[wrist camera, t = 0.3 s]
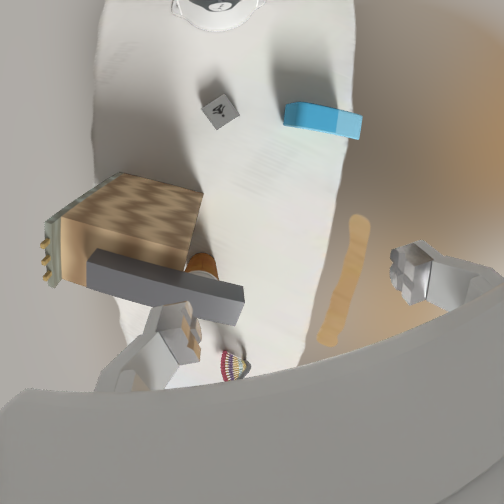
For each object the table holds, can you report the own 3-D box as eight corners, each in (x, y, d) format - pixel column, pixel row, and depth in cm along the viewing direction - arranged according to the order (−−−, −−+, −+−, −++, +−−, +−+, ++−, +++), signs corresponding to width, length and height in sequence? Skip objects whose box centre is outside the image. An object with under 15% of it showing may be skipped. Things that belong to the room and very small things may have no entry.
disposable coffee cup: (207, 288, 67) (205, 320, 56) (175, 268, 63) (166, 298, 53) (231, 260, 64) (232, 291, 53) (196, 238, 60) (191, 266, 50)
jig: (203, 193, 56) (184, 268, 29) (191, 235, 60) (169, 332, 33) (119, 172, 51) (38, 227, 25) (112, 214, 56) (43, 292, 29)
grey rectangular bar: (243, 286, 36) (244, 302, 33) (234, 308, 38) (235, 326, 34) (97, 247, 31) (86, 261, 28) (96, 273, 33) (86, 287, 30)
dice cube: (224, 95, 47) (224, 93, 42) (238, 115, 49) (239, 115, 45) (203, 109, 48) (200, 108, 43) (217, 129, 50) (216, 130, 45)
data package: (339, 114, 50) (365, 116, 39) (336, 134, 52) (362, 140, 41) (284, 104, 48) (299, 100, 38) (281, 125, 50) (296, 127, 40)
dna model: (232, 342, 76) (237, 434, 50) (255, 353, 79) (268, 441, 53) (214, 357, 79) (215, 445, 53) (237, 368, 82) (244, 452, 56)
